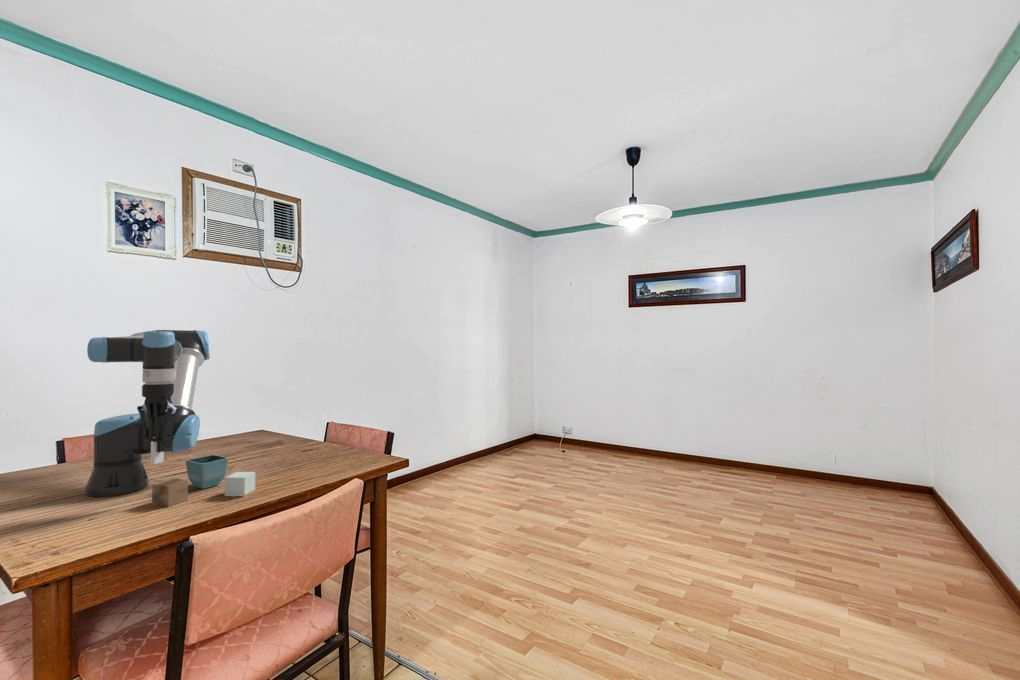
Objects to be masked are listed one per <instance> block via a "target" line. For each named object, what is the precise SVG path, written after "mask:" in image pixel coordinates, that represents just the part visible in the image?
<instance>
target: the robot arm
mask: <svg viewBox="0 0 1020 680" xmlns="http://www.w3.org/2000/svg"><path fill="white" fill-rule="evenodd" d="M86 350H87V351H86V352H87V357H88V359H89V360H90V361H91V362H92V363H102V364H105V363H142V376H141V377H142V381H141V382H142V384H143V383H144V384H143V385H142V386H141V396H142V398H145V399H144V401H143V404H141V405H138V406H137V408H136V409H137V411H138V413H127V414H121V415H116V416H111V417H106V418H103V419H99V420H98V421H97V422H96V423H95V424H94V429H93V430H94V432H93V433H94V434H93V436H92V437H93V468H92V470H91V474H90V476H89V478H88V481H87V484H86V485H85V496H87V497H94V498H95V497H99V498H101V497H112V496H119V495H124V494H130V493H132V492H137V491H140V490H142V489H144V488H146V487H148V486H149V476H148V475H147V471H146V469H145V467H144V464H143V461H142V460H143V459H142V458H143V455H147V454H148V455H149V454H150V465H156V464H161V463H164V462H165V461H164V458H165V457H164V456H165V455H164V454H165V453H172V452H173V453H179V452H183V451H184V452H185V451H189V450H191V449H192V448H194V447H195V445H196V444H197V441H198V438H199V434H200V428H201V419H200V417H199V415H197V414H196V412H195V410H193V402H194V395H195V390H196V384H197V383H196V382H197V378H198V371H199V367H201V366H202V365H203V364H204V362H205V361H207V360H210V357H211V356H210V346H209V336H208V332H207V331H205V330H196V329H194V330H180V329H179V330H177V329H172V330H171V329H155V330H147V331H142V332H135V333H133V334H131V335H130V336H129V335H128V336H127V335H126V336H118V337H117V336H116V337H114V336H111V337H106V336H101V337H99V336H97V337H92V338H90V339H89V341H88V342H87V348H86Z"/></svg>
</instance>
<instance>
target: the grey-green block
mask: <svg viewBox="0 0 1020 680" xmlns="http://www.w3.org/2000/svg"><path fill="white" fill-rule="evenodd" d="M253 490H255V491H256V472H255V471H235V472H232V473H231V474H229V475H227V476H224V497H225V496H240V495H246V494H248V493H249V492H251V491H253ZM253 492H254V491H253Z"/></svg>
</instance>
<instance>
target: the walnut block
mask: <svg viewBox="0 0 1020 680" xmlns="http://www.w3.org/2000/svg"><path fill="white" fill-rule="evenodd" d="M151 487H152V489H151V495H152V496H151V506H155V507H156V506H157V507H162V508H163V507H164V508H171V507H173V506H176V505H178V504H180V503H184V502H187V501H188V500H189V480H188V479H182V478H169V479H166V480H162V481H159V482H156V483H153V484H152V485H151Z"/></svg>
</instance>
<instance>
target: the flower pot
mask: <svg viewBox="0 0 1020 680" xmlns="http://www.w3.org/2000/svg"><path fill="white" fill-rule="evenodd" d="M228 462H229V457H227V456H222V455H219V454H218V455H216V454H208V455H204V456H200V457H196V458H190V459H186V460H185V465H186V473H187V477H188V479H189V480H188V481H190V483H191V484H192V486H194V487H195V488H198V489H203V490H205V489H207V488H208V489H209V488H211V487H216V486H219V485H220V483H221V482H222V481H223V479H225V477H226V476H225V475H226V473H227V470H228Z"/></svg>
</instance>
